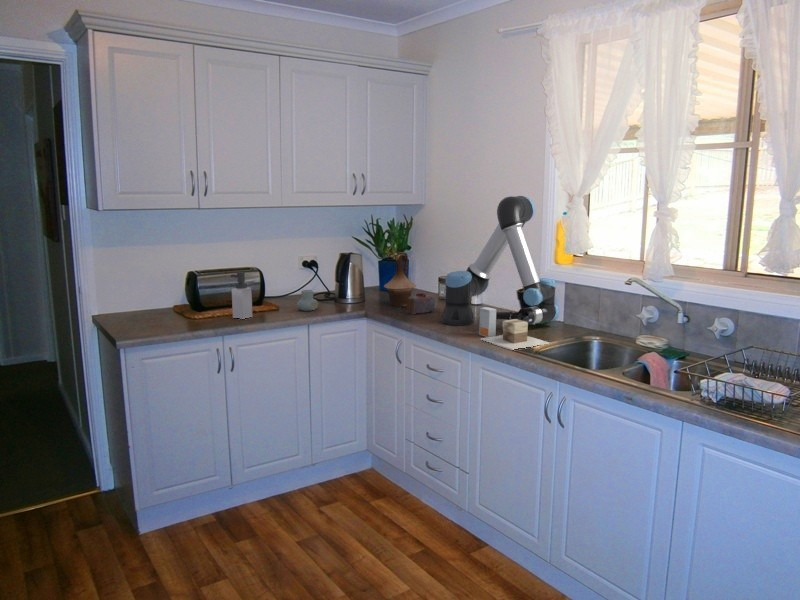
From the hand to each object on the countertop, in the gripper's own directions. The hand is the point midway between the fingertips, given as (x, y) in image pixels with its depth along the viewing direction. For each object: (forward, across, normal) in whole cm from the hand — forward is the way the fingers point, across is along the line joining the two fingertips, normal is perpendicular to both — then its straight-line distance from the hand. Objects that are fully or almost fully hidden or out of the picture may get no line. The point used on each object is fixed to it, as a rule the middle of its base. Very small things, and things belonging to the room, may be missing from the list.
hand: (492, 321), depth 272 cm
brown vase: (-3, +79, -7) cm, 79 cm away
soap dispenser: (+80, +91, -7) cm, 121 cm away
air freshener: (+45, +91, -7) cm, 102 cm away
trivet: (-1, -13, -6) cm, 15 cm away
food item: (-2, +57, -7) cm, 58 cm away
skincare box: (+2, +1, -7) cm, 7 cm away
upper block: (-1, -13, -2) cm, 13 cm away
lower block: (-1, -13, -6) cm, 14 cm away
